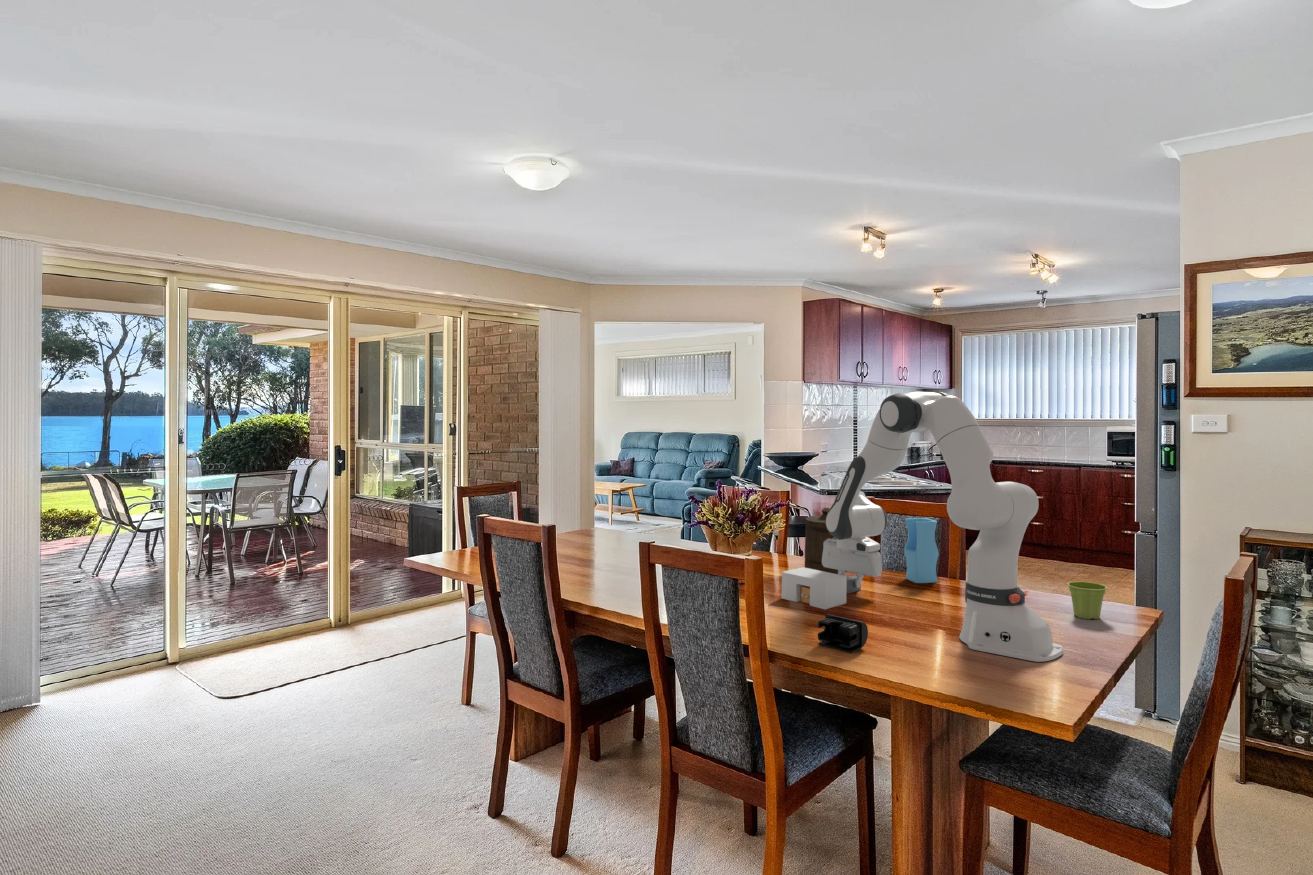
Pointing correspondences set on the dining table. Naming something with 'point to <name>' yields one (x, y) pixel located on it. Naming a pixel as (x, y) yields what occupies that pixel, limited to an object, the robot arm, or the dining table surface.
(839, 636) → the end cap
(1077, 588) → the plant pot
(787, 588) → the block
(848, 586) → the square rod
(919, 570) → the vase
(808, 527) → the wooden container
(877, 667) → the dining table surface
